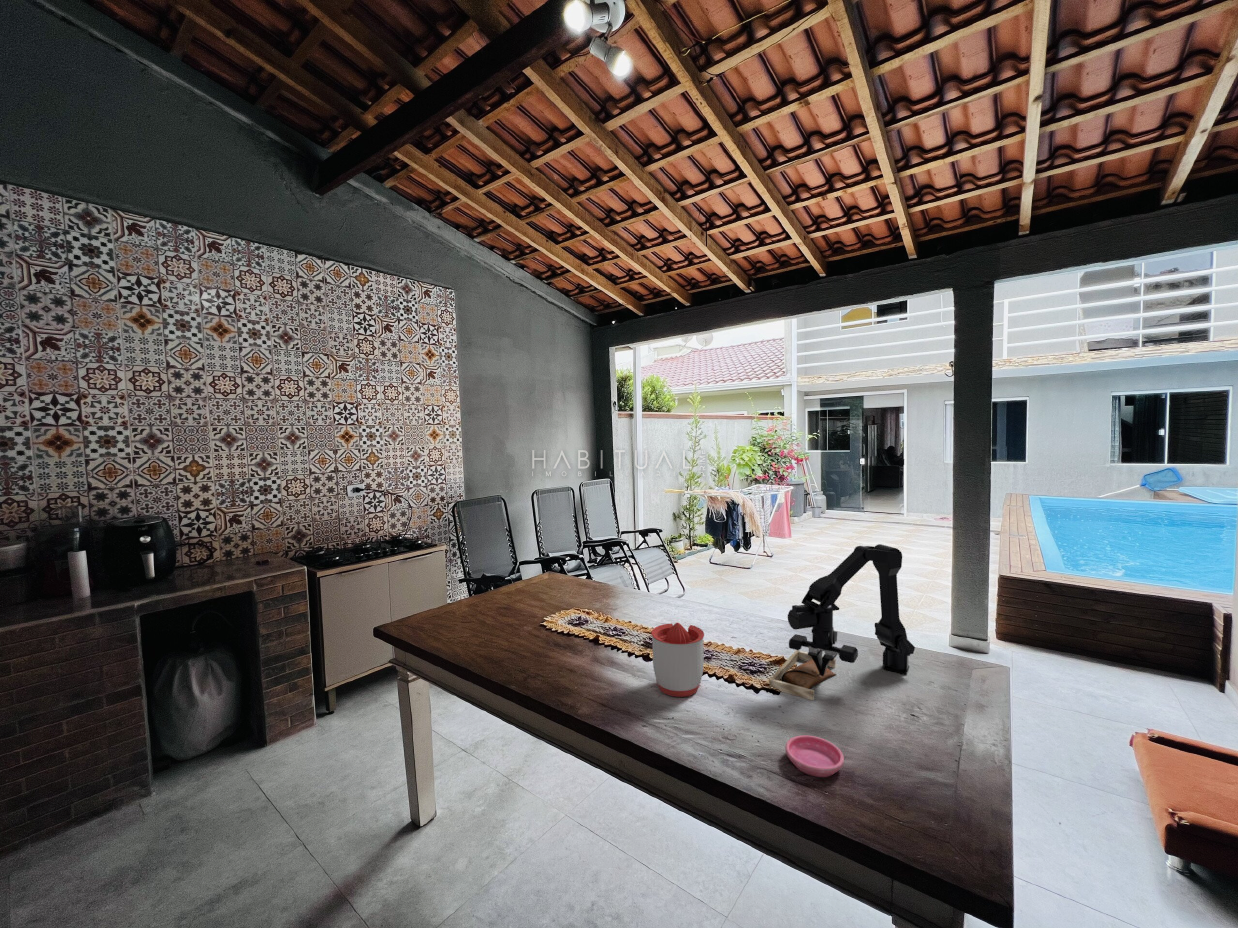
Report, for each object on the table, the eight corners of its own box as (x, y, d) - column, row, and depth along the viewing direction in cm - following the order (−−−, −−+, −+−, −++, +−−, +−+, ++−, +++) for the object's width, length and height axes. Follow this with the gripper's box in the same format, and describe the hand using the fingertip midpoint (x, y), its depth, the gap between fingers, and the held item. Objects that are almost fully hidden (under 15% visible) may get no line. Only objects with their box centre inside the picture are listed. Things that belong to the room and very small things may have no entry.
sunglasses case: (806, 693, 146) (796, 669, 148) (788, 697, 150) (778, 674, 153) (838, 673, 157) (827, 652, 159) (820, 678, 162) (810, 657, 164)
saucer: (828, 745, 121) (828, 733, 121) (854, 781, 109) (854, 767, 109) (777, 748, 121) (777, 735, 121) (797, 783, 109) (797, 769, 108)
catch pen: (835, 666, 162) (835, 659, 162) (812, 700, 142) (812, 691, 142) (796, 657, 169) (796, 649, 169) (769, 687, 149) (769, 679, 149)
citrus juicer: (708, 675, 157) (707, 613, 156) (701, 704, 141) (701, 634, 140) (658, 670, 162) (657, 609, 161) (647, 698, 145) (646, 630, 144)
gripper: (862, 623, 152) (861, 673, 153) (799, 611, 163) (799, 657, 164) (853, 635, 143) (853, 688, 144) (788, 621, 154) (788, 671, 155)
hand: (822, 675), depth 152 cm, fingers closed
